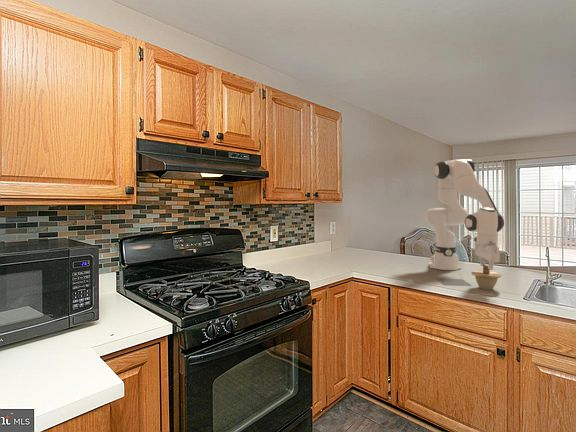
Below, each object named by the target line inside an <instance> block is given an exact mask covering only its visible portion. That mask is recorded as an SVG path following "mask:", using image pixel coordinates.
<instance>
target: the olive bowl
mask: <svg viewBox="0 0 576 432" xmlns="http://www.w3.org/2000/svg"><path fill="white" fill-rule="evenodd" d="M474 277H475V281H476V283H477V285H478V287H479V289H481V290H487V291H491V290H493V289H494V287H495V286H496V285H497V282H498V279H499V278H483V277H478V276H474Z"/></svg>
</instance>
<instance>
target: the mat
mask: <svg viewBox="0 0 576 432" xmlns="http://www.w3.org/2000/svg"><path fill="white" fill-rule="evenodd" d="M436 280H437V281H438V282H439V283H440V284H442V285H443V286H459V287H460V286H462V287H463V286H465V287H472V286H473V285H472V284H470V283H469V282H468V281H466V280H464V279H463V278H436Z"/></svg>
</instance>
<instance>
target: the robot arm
mask: <svg viewBox="0 0 576 432" xmlns="http://www.w3.org/2000/svg"><path fill="white" fill-rule="evenodd" d="M433 169H434V175H435V177H436V178H437V179H438V183H437V184H438V185H437V200H438V201H439V202H441V203H442V204H444V205H447V207H434V208H429V209H427V210H426V212H425V213H424V220H425V222H426V223H427V224H428V225H429V226H431V228H432V229H433V230H434V232H435V238H436V239H435V241H436V245H435V249H434V250H435V253H434V254H433V255H432V256H430V261H429V262H428V264H429V265H428V266H429V268H431V269H437V270H443V271H455V270H456V271H457V270H459V269H460V270H461V269H462V267H461V266H460V263H459V261H460V260H459V255H458V254H457V247H456V239H457V238H456V234H455V233H454V232H453V231H451V230H450V229H447V228H446V226H461V225H464V227H465V228H466V229H467V231H469V232H471V233H472V232H473V233H476V235H475V237H474V238H473V242H474V255H476V256H477V257H479V258H478V259H479V265H480V266H481V267H483V265H486V262H485V260H487V261H488V265H489V266H488V269H489V270H490V271H493V270H494V266H495V263H499V262H500V259H501V257H500V256H501V255H500V248H499V246H498V233H499V232H500V231H501V230H502V229H504V226H505V219H504V218H503V216H502V215H501V214H500V211H498V209H497V206H496V205H495V203H494V201H493V199H492V197H491V195H490V193H489V192H488V190H487V188H485V187H484V186H483V185H482V184H481V183H480V182H479V181H478V179H477V177H476V174H475V171H476V165H475V163H474V161H473V160H472V159H469V158H468V159H467V158H465V159H451V160H445V161H444V160H442V161H439V162H437V163H436V164H435V165H434V168H433ZM458 194H459V195H462V196H464V197H468V198H470V199H473V200H476V201H478V202H479V203H480V205H481V207H479V208H478V210H477V211H475V212H474V213H473V212H472V213H469V212H468V211H467V209H465V208H464V207H463V206H462V204H460V202H459V198H458Z"/></svg>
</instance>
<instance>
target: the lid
mask: <svg viewBox="0 0 576 432" xmlns="http://www.w3.org/2000/svg"><path fill="white" fill-rule="evenodd" d="M488 266H489V264H485V265H483V266H482V270H474V271H473V270H472V271H471V275H472V276H474V277H475V276H478V277H483V278H498V279H501V278H502V274H501V273H499V272H497V271H492V270H489V269H488Z"/></svg>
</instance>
